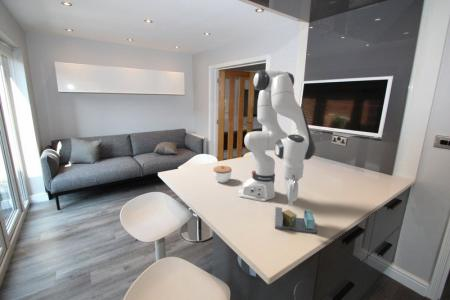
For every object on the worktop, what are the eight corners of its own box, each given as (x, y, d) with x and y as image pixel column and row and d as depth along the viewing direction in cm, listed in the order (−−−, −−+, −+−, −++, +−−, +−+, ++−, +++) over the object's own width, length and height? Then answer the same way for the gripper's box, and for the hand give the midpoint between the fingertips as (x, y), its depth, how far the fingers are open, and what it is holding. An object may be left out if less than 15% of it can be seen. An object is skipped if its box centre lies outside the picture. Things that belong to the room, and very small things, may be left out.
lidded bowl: (229, 185, 147) (229, 169, 144) (211, 183, 149) (211, 168, 146) (232, 178, 158) (233, 163, 156) (215, 176, 161) (215, 162, 158)
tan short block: (281, 220, 103) (282, 211, 102) (287, 218, 105) (288, 209, 104) (290, 226, 99) (291, 217, 98) (296, 223, 101) (297, 214, 100)
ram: (306, 228, 97) (307, 219, 96) (303, 218, 105) (304, 209, 104) (313, 229, 96) (314, 220, 95) (310, 218, 104) (311, 210, 103)
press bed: (275, 228, 99) (276, 216, 98) (274, 217, 108) (275, 207, 106) (316, 233, 96) (318, 221, 95) (312, 222, 105) (314, 211, 103)
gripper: (303, 182, 86) (299, 212, 90) (297, 164, 105) (294, 190, 109) (286, 180, 87) (283, 211, 91) (283, 163, 106) (281, 189, 110)
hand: (289, 199), depth 100 cm, fingers open, 8 cm apart
